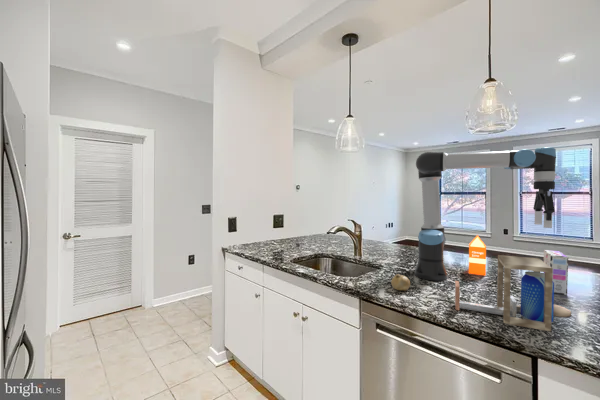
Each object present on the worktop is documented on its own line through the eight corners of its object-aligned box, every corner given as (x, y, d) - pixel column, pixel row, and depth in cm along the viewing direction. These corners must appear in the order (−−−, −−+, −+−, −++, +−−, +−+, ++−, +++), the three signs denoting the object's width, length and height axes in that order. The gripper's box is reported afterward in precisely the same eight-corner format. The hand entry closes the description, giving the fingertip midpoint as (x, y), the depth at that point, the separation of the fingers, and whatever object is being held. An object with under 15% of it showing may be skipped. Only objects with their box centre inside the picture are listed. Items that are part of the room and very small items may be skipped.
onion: (396, 285, 130) (396, 270, 130) (413, 289, 124) (413, 273, 124) (388, 289, 124) (388, 274, 124) (405, 294, 119) (405, 277, 118)
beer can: (514, 315, 98) (515, 270, 97) (536, 314, 98) (537, 270, 98) (536, 327, 89) (537, 278, 89) (560, 326, 90) (561, 277, 90)
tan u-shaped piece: (455, 309, 102) (455, 286, 102) (454, 303, 108) (455, 280, 108) (516, 320, 93) (517, 294, 93) (512, 312, 100) (512, 287, 99)
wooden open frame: (504, 323, 92) (505, 263, 92) (497, 307, 105) (497, 254, 104) (551, 331, 87) (552, 268, 86) (537, 313, 99) (539, 258, 98)
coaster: (535, 313, 100) (535, 310, 100) (527, 302, 110) (527, 300, 110) (576, 319, 95) (576, 317, 95) (564, 307, 104) (564, 305, 104)
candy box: (568, 295, 116) (569, 256, 116) (549, 292, 119) (550, 255, 119) (559, 286, 128) (560, 250, 127) (542, 283, 131) (543, 249, 131)
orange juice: (485, 271, 152) (486, 235, 151) (485, 275, 144) (486, 237, 143) (468, 269, 156) (469, 233, 155) (468, 273, 148) (468, 236, 148)
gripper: (565, 179, 117) (563, 229, 118) (545, 181, 139) (544, 223, 140) (542, 180, 120) (541, 228, 121) (526, 181, 143) (525, 222, 143)
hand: (542, 226), depth 131 cm, fingers open, 13 cm apart
